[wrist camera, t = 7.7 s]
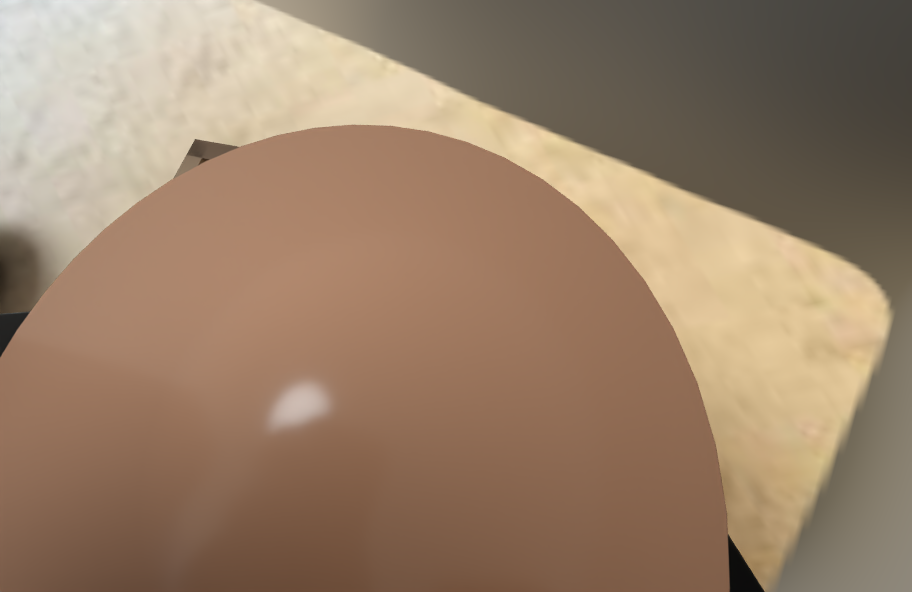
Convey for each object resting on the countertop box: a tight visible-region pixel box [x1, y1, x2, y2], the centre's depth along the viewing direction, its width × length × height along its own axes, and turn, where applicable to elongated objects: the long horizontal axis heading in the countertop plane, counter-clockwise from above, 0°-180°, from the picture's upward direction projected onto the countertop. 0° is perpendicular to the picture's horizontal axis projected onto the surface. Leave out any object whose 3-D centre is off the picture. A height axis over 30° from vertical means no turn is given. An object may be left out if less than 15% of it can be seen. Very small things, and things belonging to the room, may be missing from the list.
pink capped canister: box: [0, 125, 730, 592], centre depth 10 cm, size 7×7×14 cm
